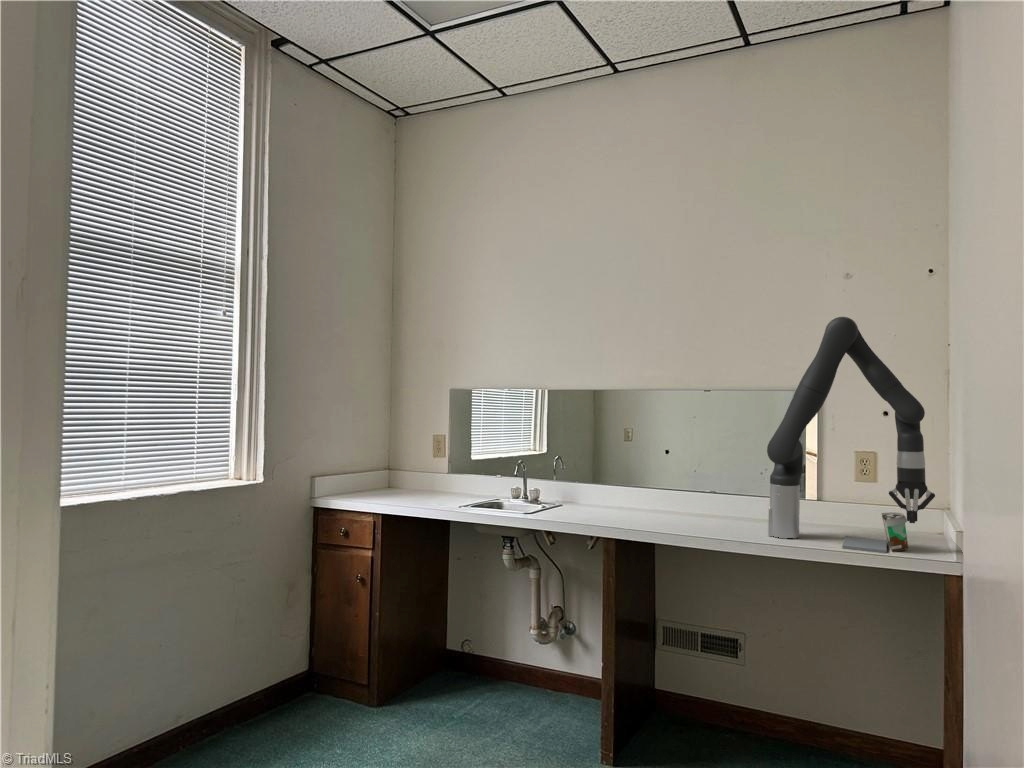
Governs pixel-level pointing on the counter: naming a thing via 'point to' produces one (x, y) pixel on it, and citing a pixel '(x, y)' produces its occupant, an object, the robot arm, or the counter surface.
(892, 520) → the food container
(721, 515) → the counter surface
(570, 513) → the counter surface
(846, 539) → the mat
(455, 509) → the counter surface
